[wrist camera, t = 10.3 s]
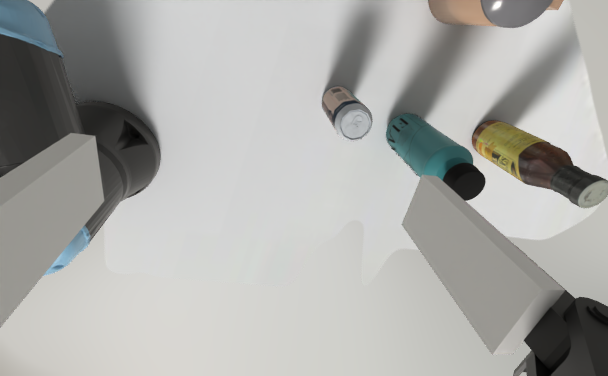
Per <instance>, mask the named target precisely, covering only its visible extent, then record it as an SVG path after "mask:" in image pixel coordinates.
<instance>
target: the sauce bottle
mask: <svg viewBox="0 0 608 376" xmlns="http://www.w3.org/2000/svg"><path fill="white" fill-rule="evenodd" d="M472 144H473V147H474V149H475V150H476V151H477V152H478V153H479V154H480V155H482V156H483V157H485V158H486V159H488V160H490V161H491V162H493V163H494V164H496V165H497V166H499V167H500V168H502V169H503V170H505V171H507V172H508V173H510V174H511V175H513V176H514V177H516V178H517V179H519V180H520V181H522V182H524V183H525V184H527V185H532V186H537V187H542V188H547V189H552V190H554V191H555V192H558V193H560V194H562V195H563V196H565V197H567V198H568V199H569V200H570V201H571V202H572V203H573V204H575V205H577V206H579V207H581V208H590V207H593V206H595V205H597V204H599V203H600V202H602V201H603V200H604V199H605V198H606V197H607V195H608V181H607V180H606V179H603V178H601V177H599V176H596V175H591V174H589V173H587V172H585V171H583V170H581V169H580V168H579V167H577V166H574V165H573V163H572V161H571V158H570V156H569V155H568V153H567V152H565V151H563V150H562V149H561V148H558V147H555V146H554V145H551V144H550V143H549V142H547V141H544V140H542V139H540V138H538V137H536V136H533V135H531V134H529V133H527V132H525V131H523V130H520V129H518V128H516V127H514V126H512V125H509V124H507V123H504V122H501V121H497V120H493V121H487V122H485V123H483V124H482V125H481V126H479V127H478V129H477V130H476V131H475V132H474V134H473V137H472Z"/></svg>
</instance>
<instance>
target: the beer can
mask: <svg viewBox="0 0 608 376" xmlns="http://www.w3.org/2000/svg"><path fill="white" fill-rule="evenodd" d="M322 108H323V110H324V112H325V113H326V115H327V116H328V118H329V120H330V121H331V123H332V125H333V126H334V128H335V130H336V132H337V134H338V135H339V136H340V137H341V138H343V139H344V140H347V141H356V140H359V139H362V138H363V137H364V136H365V135H366V134H367V133H368V132H369V131H370V129H371V126H372V115H371V112H370V111H369V109H368V108H367V107H366V106H365V105H364V104H362V103H361V102H360V101H359V100H358V99H357V98H356V97H355V96H354V95H353V94H352V93H350V92H349V91H348V90H347V89H346V88H344V87H341V86H336V87H332V88H330V89H329V90H328V91H327V92H326V93H325V94H324V96H323V99H322Z"/></svg>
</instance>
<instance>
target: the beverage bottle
mask: <svg viewBox="0 0 608 376" xmlns="http://www.w3.org/2000/svg"><path fill="white" fill-rule="evenodd" d="M386 137H387V139H386V140H387V141H388V143H389V145H390V146H391V147H392V149H393V150H395V152H397V153H398V154H399V155H398V156H401V157H400V158H402V159H403V160H404V162H405V163H406V164H408V165H409V166H410V168H411V169H413V170H414V171H415V172H416V173H417V174H416V175H418V176H419V177H421V176H422V175H430V176H438V177H439V178H440V179H441V180H442V181H443V182H444V183H445V184H447V185H448V186H449V187H450V188H451V189H452V190H453V191H454V192H455V193H457V194H458V195H459V196H460V197H461V198H462V199H463V200H464V201H466V200H470V199H473V198H474V197H476V196H477V195H478V194H479V193H480V192H481V191H482V190H483V188H484V186H485V177H484V175H483V174H482V173H481V172H480V171H479V170H478V169H477V168H476V167H475V166H474V165H473V158H472V155H471V153H470V152H469V151H468V150H467V149H466V148H465V147H463V146H460V145H459V144H457V143H456V142H454V141H453V140H451V139H450V138H448V137H447V136H445V135H444V134H442V133H441V132H439V131H438V130H436V129H435V128H434V127H432V126H431V125H430V124H428V123H427V122H425V121H424V120H422V119H421V117H420V118H419V117H418V115H414V114H413V113H412V114H408V113H406V114H402V115H399V116H397V117H396V118H394V119H393V120H392V121H391V122H390V124H389V126H388V128H387V132H386ZM397 153H396V154H397ZM413 170H412V171H413Z"/></svg>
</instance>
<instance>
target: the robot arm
mask: <svg viewBox="0 0 608 376" xmlns="http://www.w3.org/2000/svg"><path fill="white" fill-rule="evenodd" d="M62 58H64V57H63V54H62V52H61V51H60V50H59V49H58V47H57V44H56V41H55V38H54V36H53V33H52V30H51V27H50V25H49V22H48V20H47V18H46V16H45V15H44V13H43V12H42V11H41V10H40V9H39V8H38V7H37V6H35V5H34V4H33V3H31V2H29V1H27V0H0V327H1V326H2V325H3V324H4V322H5V321H6V320H7V319H8V318H9V316H10V315H11V314H12V313H13V312H14V310H15V309H16V308H17V307H18V305H19V304H20V303H21V302H22V301H23V299H24V298H25V297H26V296H27V294H28V293H29V292H30V291H31V290H32V288H33V287H34V286H35V285H36V284H37V282H38V281H39V280H40V279H41V277H42V276H45V275H49V274H52V273H55V272H57V271H59V270H61V269H62V268H64V267H65V266H67V265H68V264H69V263H70V262H71V261H72V260H73V259H74V258H75V257H76V256H77V255H78V253H80V252H81V251H83V250H84V249H85V248H86V247H87V246H88V245H89V243H90V241H91V239H92V238H93V237H94V236H95V234H96V233H97V232H98V230H99V229H100V228H101V226H102V225H103V224H104V222H105V221H106V220H107V218H108V217H109V216H110V214H111V213H112V212H113V211H114V209H115V208H116V207H117V205H118V204H119V203H120V202H121V201H123V200H125V199H126V198H129V197H131V196H134V195H136V194H138V193H140V192H141V191H143V190H144V189H145V188H146V187H147V186H148V185H149V184H150V183H151V181H152V180H153V179H154V177H155V176H156V174H157V172H158V169H159V166H160V151H159V147H158V144H157V141H156V139H155V137H154V136H153V134H152V132H151V131H150V130H149V128H148V127H147V126H146V125H145V124H144V123H143V122H142V121H141V120H140V119H139V118H137V117H136V116H135V115H133V114H132V113H130V112H129V111H127V110H125V109H123V108H121V107H118V106H115V105H112V104H109V103H104V102H84V103H80V104H76V103H75V100H74V97H73V94H72V91H71V87H70V84H69V81H68V78H67V74H66V71H65V68H64V65H63V61H62ZM402 226H403V227H404V229H405V230H406V231H407V233H408V234H409V236H410V237H411V239H412V240H413V242H414V243H415V244H416V246H417V247H418V249H419V250H420V252H421V253H422V254H423V256H424V257H425V259H426V260H427V261H428V263H429V265H430V266H431V267H432V269H433V270H434V272H435V273H436V275H437V276H438V278H439V279H440V280H441V282H442V283H443V285H444V286H445V287H446V289H447V290H448V292H449V293H450V295H451V296H452V298H453V299H454V300H455V302H456V303H457V305H458V306H459V308H460V309H461V311H462V312H463V314H464V315H465V316H466V318H467V319H468V321H469V322H470V324H471V325H472V327H473V328H474V329H475V331H476V332H477V334H478V335H479V337H480V338H481V339H482V341H483V342H484V344H485V345H486V347H487V348H488V350H489V351H490V352H491V354H492V355H503V354H514V353H515V352H516V350H517V349H518V348H519V347H520V345H521V344H522V343H523V342H524V341H525V342H526V344H527V345H528V346H529V347H530V349H531V350H532V351H531V352H530V353H529V354H528V355H527V356H526V358H525V359H524V360H523V361H522V362H521V364H520V365H519V366H518V367H517V368H516V369H515V371H514V374H513V376H519V375H520V374H521V373H522V372H527V376H608V306H606V305H604V304H602V303H600V302H598V301H595V300H592V299H589V298H584V297H579V298H576V299H575V298H574V297H573V296H572V295H571V294H570V293H568V292H567V291H566V290H565V289H564V288H563V287H562V286H560V285H559V284H558V283H557V282H556V281H555V280H554V279H553V278H552V277H550V276H549V275H548V274H547V273H546V272H545V271H544V270H543V269H541V268H540V267H538V265H537V264H536V263H534V262H533V261H532V260H531V259H530V258H529V257H527V255H526V254H525V253H523V252H522V251H521V250H520V249H519V248H518V247H517V246H515V245H514V244H513V243H512V242H511V241H509V240H508V239H507V238H506V237H505V236H504V235H503V234H502V233H500V232H499V231H498V230H497V229H496V228H495V227H494V226H493V225H491V224H490V223H489V222H488V221H487V220H486V219H485V218H484V217H482V216H481V215H480V214H479V213H478V212H477V211H476V210H475V209H473V208H472V207H471V206H470V205H469V204H468V203H467V202H466V201H464V200H463V199H462V198H461V197H460V196H459V195H458V194H457V193H455V192H454V191H453V190H452V189H451V188H450V187H449V186H448V185H447V184H445V183H444V182H443V181H442V180H441V179H440V178H439V177H438V176H430V175H422V176H421V179H420V181H419V184H418V186H417V188H416V191H415V193H414V196H413V198H412V201H411V203H410V206H409V208H408V211H407V213H406V215H405V218H404V220H403V223H402Z"/></svg>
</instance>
